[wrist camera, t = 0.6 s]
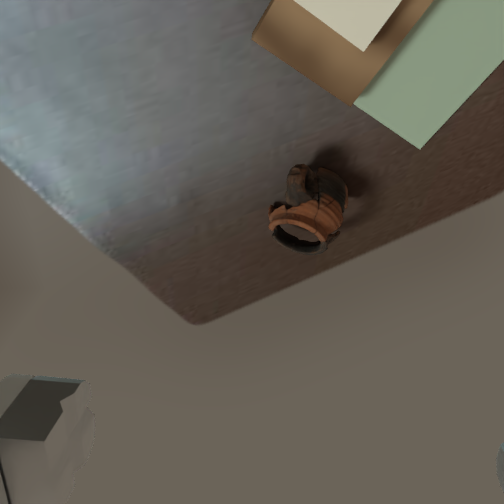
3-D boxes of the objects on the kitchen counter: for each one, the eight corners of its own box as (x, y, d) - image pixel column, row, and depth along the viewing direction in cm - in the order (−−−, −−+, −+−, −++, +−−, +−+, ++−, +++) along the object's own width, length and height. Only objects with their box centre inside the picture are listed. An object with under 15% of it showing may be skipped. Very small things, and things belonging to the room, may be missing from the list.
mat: (467, -51, 40) (469, -50, 40) (540, 16, 43) (542, 17, 43) (350, 101, 49) (351, 102, 48) (418, 147, 52) (419, 149, 51)
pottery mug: (361, 208, 58) (343, 263, 54) (294, 205, 62) (274, 255, 59) (338, 139, 49) (315, 199, 45) (262, 142, 54) (236, 196, 50)
